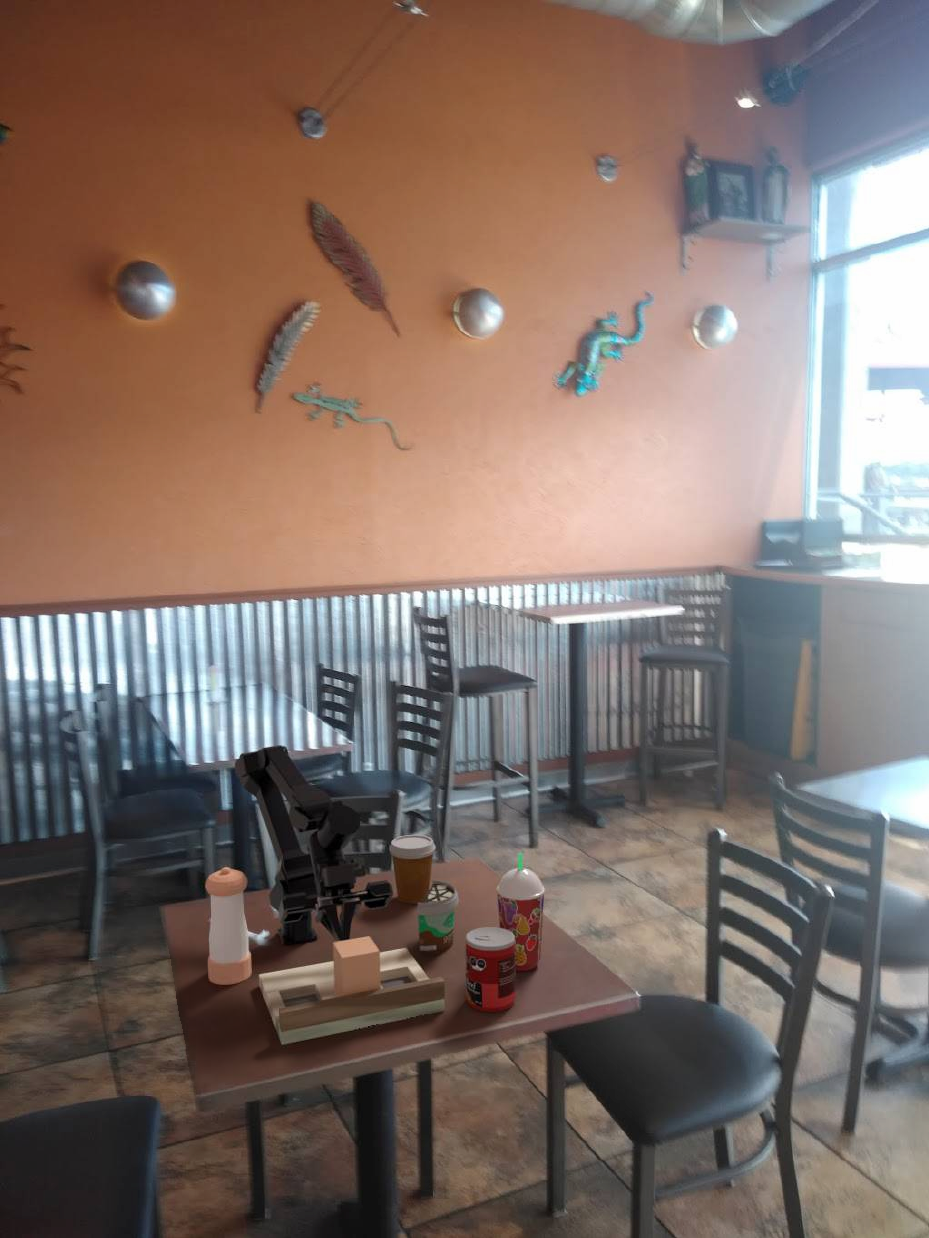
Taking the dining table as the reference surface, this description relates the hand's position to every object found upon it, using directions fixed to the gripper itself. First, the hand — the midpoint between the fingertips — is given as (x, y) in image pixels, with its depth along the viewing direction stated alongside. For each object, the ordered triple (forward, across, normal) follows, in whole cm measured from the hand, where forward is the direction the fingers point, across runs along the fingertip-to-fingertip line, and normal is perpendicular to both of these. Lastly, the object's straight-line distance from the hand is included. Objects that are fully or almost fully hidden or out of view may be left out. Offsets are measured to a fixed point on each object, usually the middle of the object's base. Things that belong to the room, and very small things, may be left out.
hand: (345, 950), depth 160 cm
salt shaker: (-4, -17, +16) cm, 24 cm away
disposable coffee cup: (-19, +23, +30) cm, 42 cm away
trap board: (+6, 0, +4) cm, 8 cm away
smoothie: (+6, +31, +4) cm, 32 cm away
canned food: (+13, +21, -3) cm, 25 cm away
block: (+9, 0, -1) cm, 9 cm away
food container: (-3, +21, +14) cm, 25 cm away
